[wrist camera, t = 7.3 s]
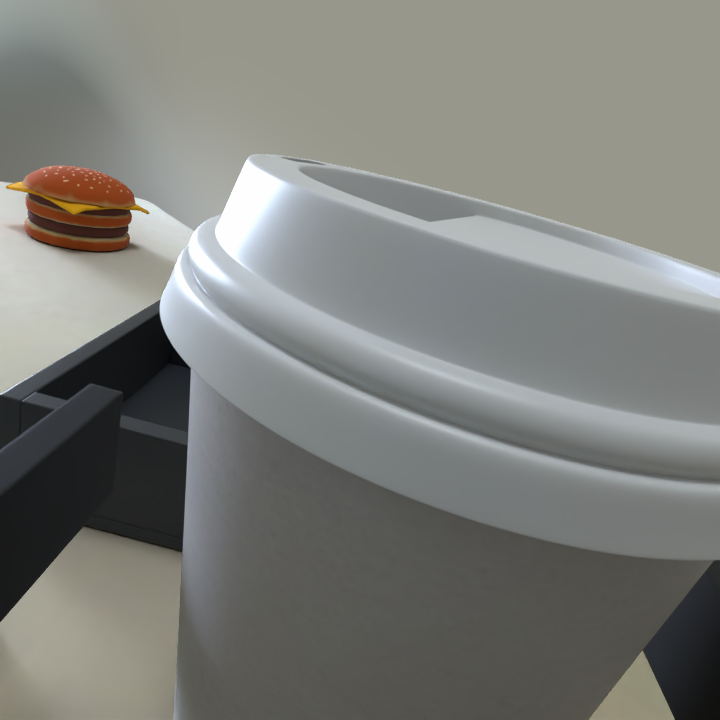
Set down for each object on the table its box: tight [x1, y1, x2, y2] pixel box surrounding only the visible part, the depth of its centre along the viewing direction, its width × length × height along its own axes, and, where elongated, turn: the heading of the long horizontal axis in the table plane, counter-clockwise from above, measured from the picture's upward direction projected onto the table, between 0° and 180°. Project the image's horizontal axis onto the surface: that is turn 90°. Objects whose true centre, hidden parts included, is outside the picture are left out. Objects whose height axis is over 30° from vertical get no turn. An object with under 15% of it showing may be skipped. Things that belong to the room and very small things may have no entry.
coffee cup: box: [160, 154, 720, 720], centre depth 11 cm, size 10×10×15 cm
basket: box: [0, 300, 191, 551], centre depth 27 cm, size 15×15×5 cm
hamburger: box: [6, 166, 149, 251], centre depth 53 cm, size 9×10×7 cm
